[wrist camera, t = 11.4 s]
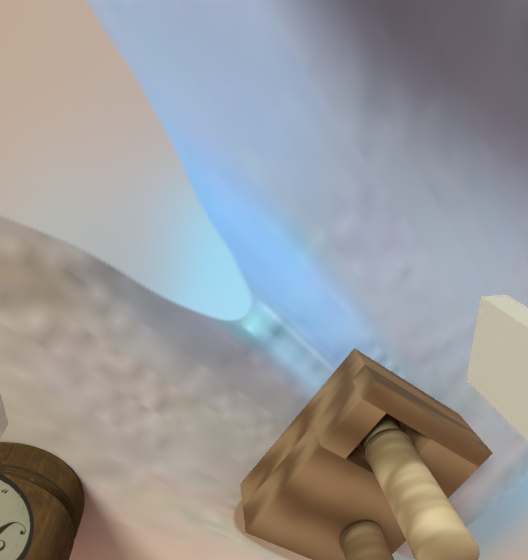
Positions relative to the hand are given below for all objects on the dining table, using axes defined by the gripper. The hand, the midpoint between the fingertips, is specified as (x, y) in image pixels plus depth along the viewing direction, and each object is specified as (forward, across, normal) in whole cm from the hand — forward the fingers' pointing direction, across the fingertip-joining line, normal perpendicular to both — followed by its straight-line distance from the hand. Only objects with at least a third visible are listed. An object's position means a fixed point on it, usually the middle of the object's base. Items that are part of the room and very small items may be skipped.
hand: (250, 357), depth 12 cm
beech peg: (+24, +15, -24) cm, 37 cm away
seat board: (+27, +13, -29) cm, 41 cm away
